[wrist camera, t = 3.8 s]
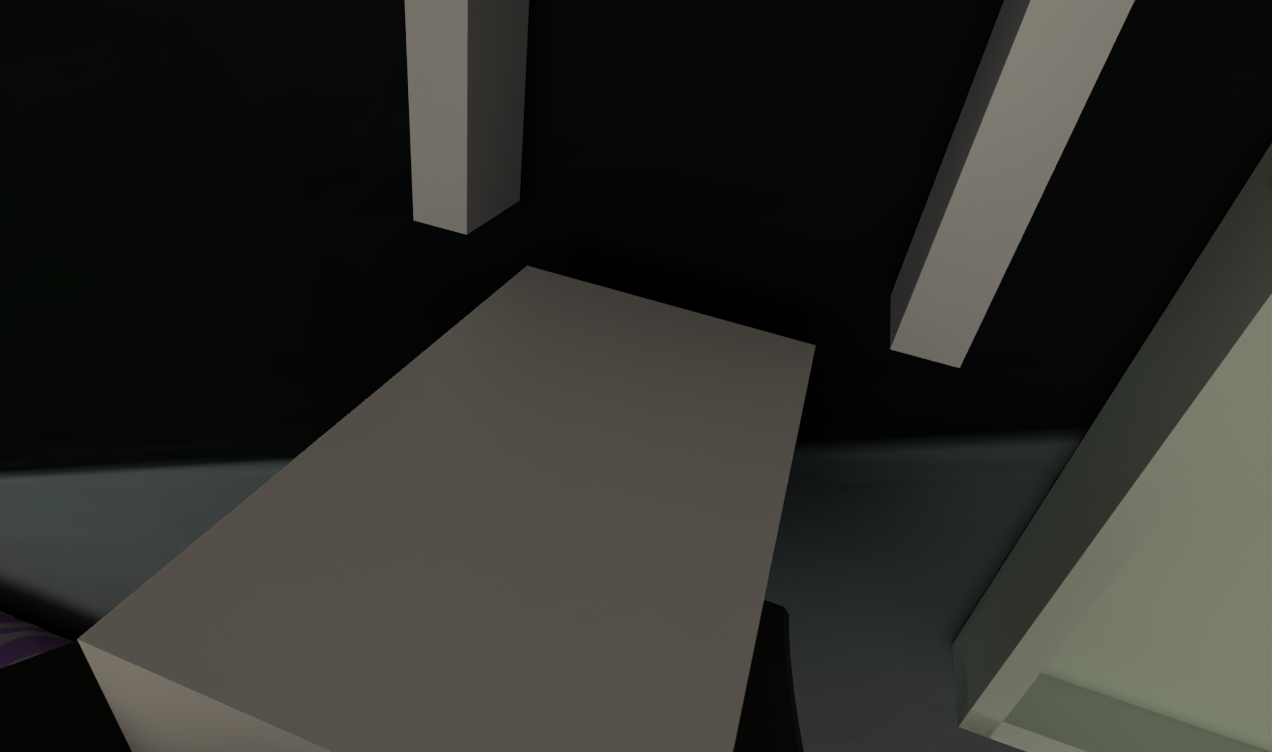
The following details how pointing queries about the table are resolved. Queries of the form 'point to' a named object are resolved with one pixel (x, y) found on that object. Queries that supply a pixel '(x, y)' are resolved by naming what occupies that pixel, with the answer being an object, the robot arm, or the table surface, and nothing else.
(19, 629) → the pencil case
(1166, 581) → the tray
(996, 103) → the dock
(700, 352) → the taupe rectangular block
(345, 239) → the table surface
